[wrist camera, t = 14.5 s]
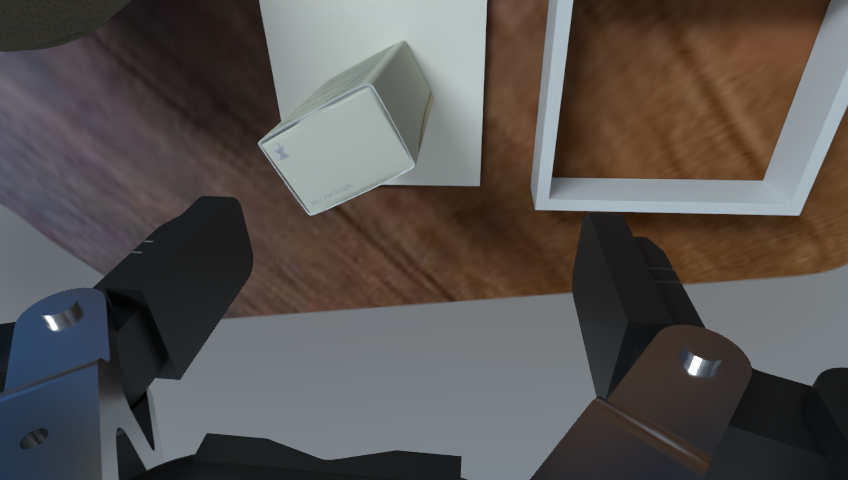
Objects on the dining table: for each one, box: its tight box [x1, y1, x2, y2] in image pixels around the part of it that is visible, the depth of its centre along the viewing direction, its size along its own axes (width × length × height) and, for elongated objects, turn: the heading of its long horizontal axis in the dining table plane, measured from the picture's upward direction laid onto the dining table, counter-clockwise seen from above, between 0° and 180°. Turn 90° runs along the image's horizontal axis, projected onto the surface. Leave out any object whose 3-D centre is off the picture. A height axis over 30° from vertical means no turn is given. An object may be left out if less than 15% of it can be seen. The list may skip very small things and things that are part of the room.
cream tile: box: [259, 0, 487, 186], centre depth 32 cm, size 14×14×1 cm
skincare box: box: [258, 40, 434, 215], centre depth 27 cm, size 6×4×12 cm
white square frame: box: [531, 0, 848, 216], centre depth 29 cm, size 15×17×4 cm
